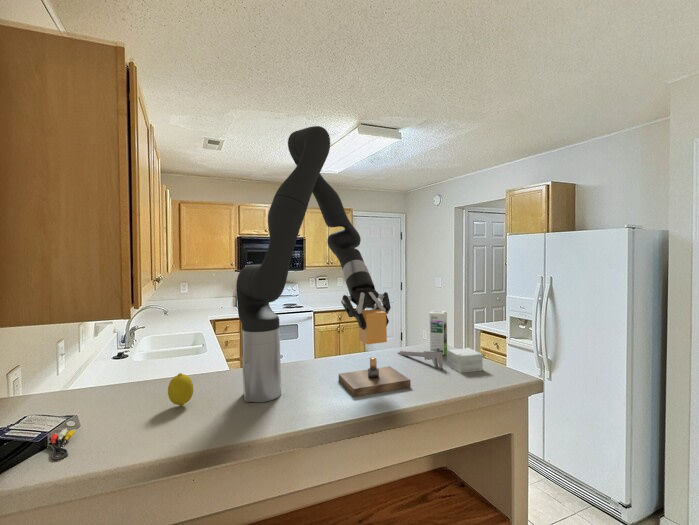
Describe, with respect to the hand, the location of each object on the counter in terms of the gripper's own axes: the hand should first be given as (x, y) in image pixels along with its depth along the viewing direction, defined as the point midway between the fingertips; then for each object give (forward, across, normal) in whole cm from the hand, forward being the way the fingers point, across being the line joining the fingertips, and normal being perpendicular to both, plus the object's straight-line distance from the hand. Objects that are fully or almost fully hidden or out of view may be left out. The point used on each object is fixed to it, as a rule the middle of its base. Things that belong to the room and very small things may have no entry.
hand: (375, 326), depth 96 cm
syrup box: (-2, +33, +26) cm, 42 cm away
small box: (+9, +31, +14) cm, 35 cm away
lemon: (+7, -48, +16) cm, 51 cm away
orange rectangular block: (+2, 0, +4) cm, 5 cm away
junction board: (+10, 0, +12) cm, 16 cm away
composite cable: (+15, -69, +8) cm, 71 cm away
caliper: (+1, +22, +22) cm, 31 cm away
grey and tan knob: (+9, 0, +11) cm, 14 cm away
